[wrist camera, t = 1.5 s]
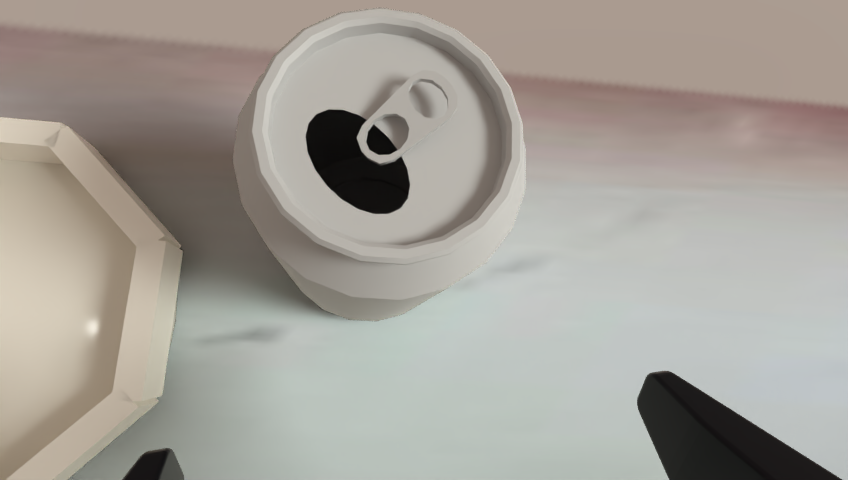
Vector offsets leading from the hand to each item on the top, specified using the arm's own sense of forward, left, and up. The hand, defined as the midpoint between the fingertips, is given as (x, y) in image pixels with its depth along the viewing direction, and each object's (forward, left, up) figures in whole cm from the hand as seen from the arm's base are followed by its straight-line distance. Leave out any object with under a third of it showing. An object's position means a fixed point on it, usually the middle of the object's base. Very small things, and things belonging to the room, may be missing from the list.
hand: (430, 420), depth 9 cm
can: (+6, +1, -12) cm, 14 cm away
